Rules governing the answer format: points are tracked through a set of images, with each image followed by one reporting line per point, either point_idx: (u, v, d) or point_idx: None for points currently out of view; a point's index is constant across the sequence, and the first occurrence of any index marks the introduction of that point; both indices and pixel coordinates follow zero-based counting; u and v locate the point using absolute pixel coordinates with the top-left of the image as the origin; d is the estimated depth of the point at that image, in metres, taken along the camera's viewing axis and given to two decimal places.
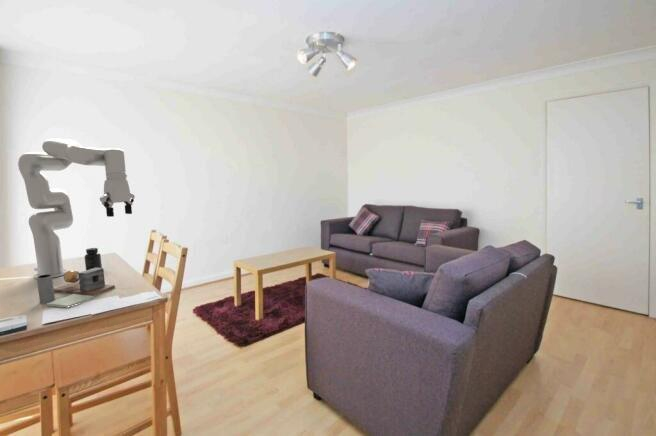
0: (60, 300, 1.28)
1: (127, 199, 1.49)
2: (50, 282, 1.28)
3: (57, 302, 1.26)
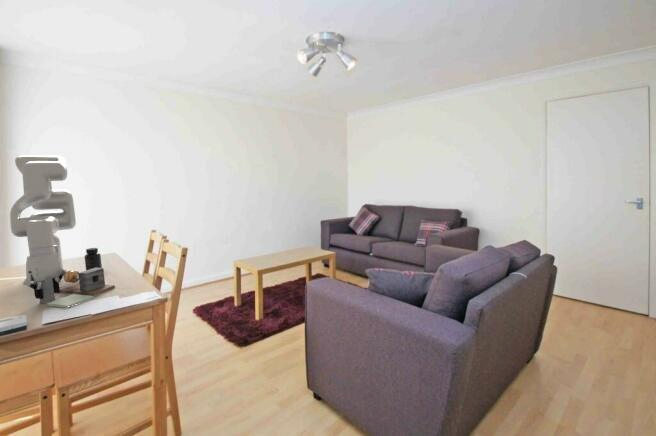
0: (60, 300, 1.28)
1: (57, 274, 1.31)
2: (50, 282, 1.28)
3: (57, 302, 1.26)
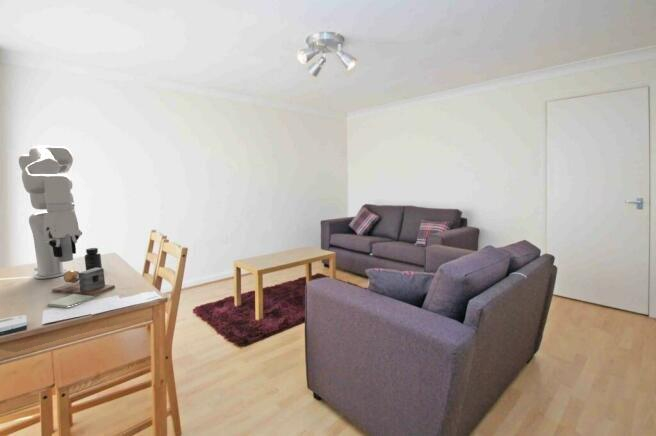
0: (60, 300, 1.28)
1: (74, 233, 1.27)
2: (69, 240, 1.25)
3: (57, 302, 1.26)
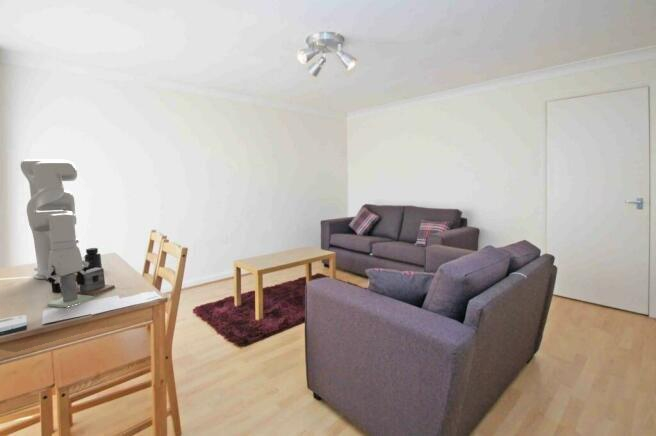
0: (60, 300, 1.28)
1: (78, 269, 1.29)
2: (73, 280, 1.27)
3: (57, 302, 1.26)
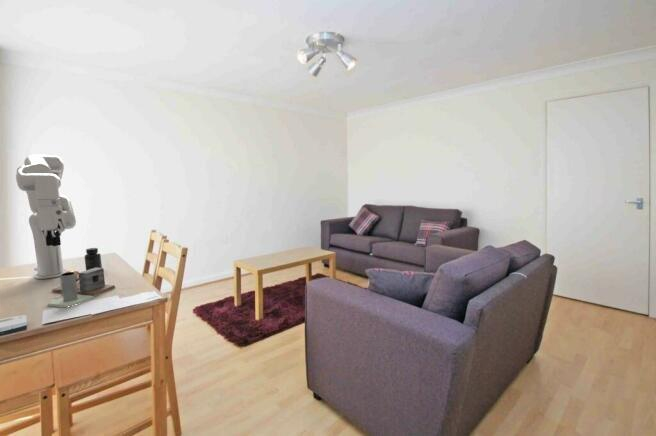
0: (60, 300, 1.28)
1: (51, 227, 1.39)
2: (74, 280, 1.27)
3: (57, 302, 1.26)
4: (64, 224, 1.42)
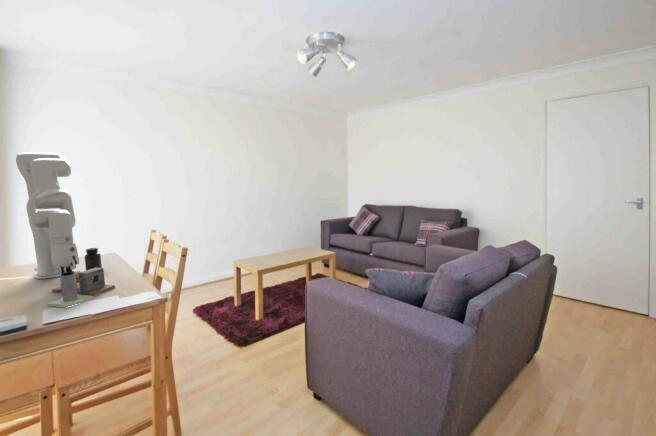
0: (60, 300, 1.28)
1: (65, 264, 1.40)
2: (73, 280, 1.27)
3: (57, 302, 1.26)
4: (77, 260, 1.43)
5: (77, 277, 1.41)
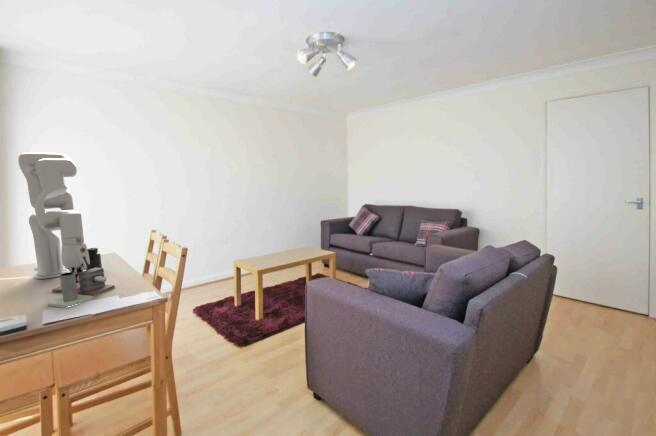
0: (60, 300, 1.28)
1: (76, 265, 1.38)
2: (73, 280, 1.27)
3: (57, 302, 1.26)
4: (88, 261, 1.41)
5: None
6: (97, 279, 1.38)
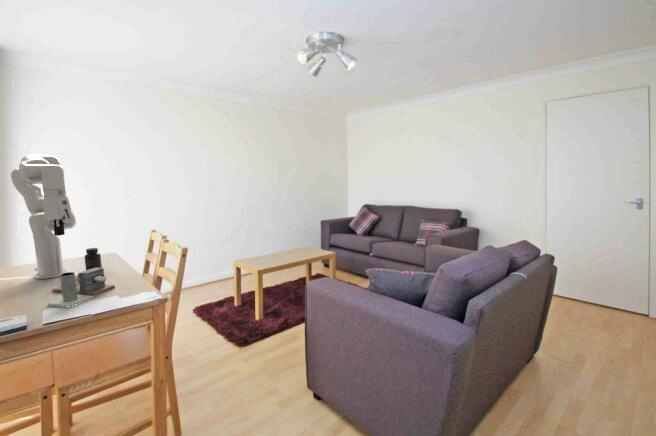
0: (60, 300, 1.28)
1: (57, 217, 1.41)
2: (73, 280, 1.27)
3: (57, 302, 1.26)
4: (70, 214, 1.44)
5: None
6: (97, 279, 1.38)
